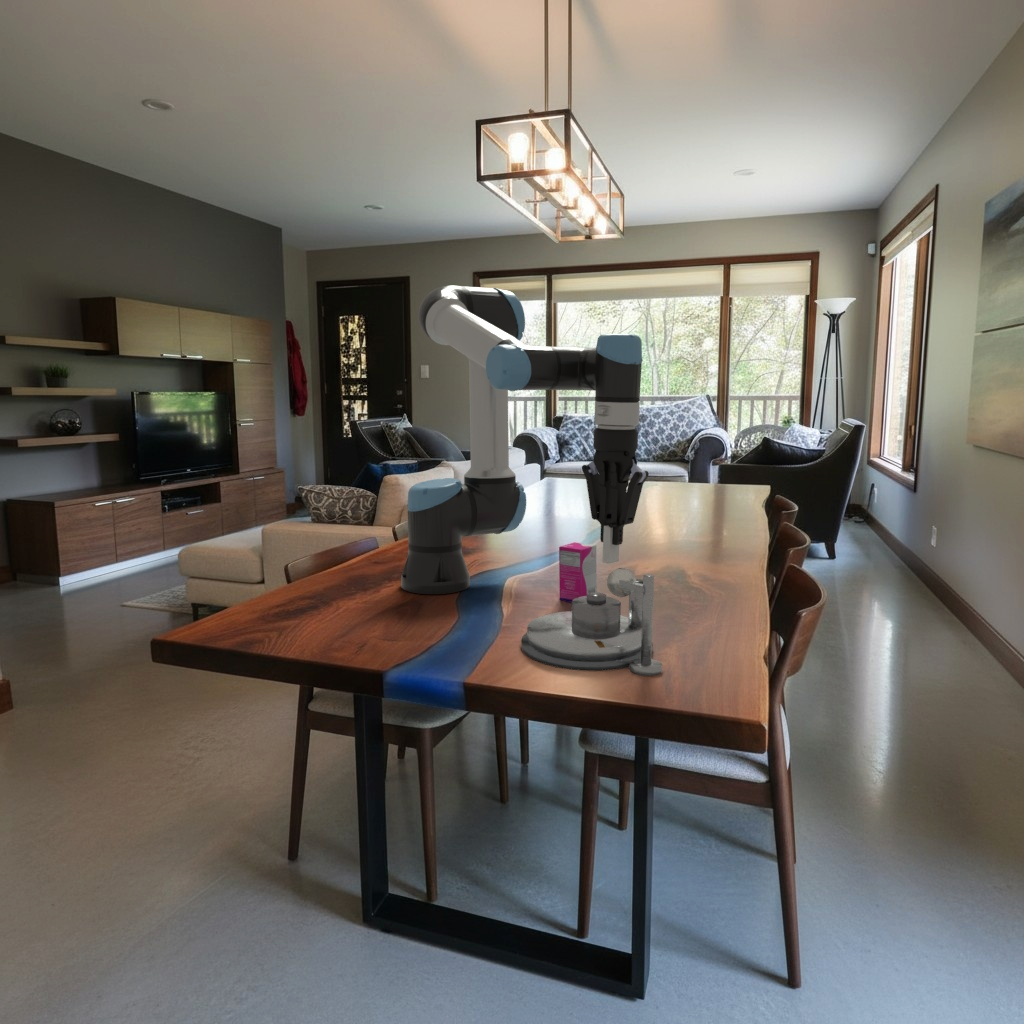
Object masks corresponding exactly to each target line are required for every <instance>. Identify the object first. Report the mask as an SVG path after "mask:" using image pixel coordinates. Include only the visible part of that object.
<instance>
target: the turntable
mask: <svg viewBox="0 0 1024 1024" xmlns="http://www.w3.org/2000/svg"><path fill="white" fill-rule="evenodd" d="M636 583H640V584H643V579H640V578H636ZM642 602H643V593H642V592H638V591H633V592H632V593H630V594H629V595H628V616H624V615H622V614H621V615H620V634H619V635H618V636H616V637H613V638H607V639H589V638H583V637H580V636H577V635H575V634H573V633H572V610H571V611H569V610H568V611H560V612H553V613H548V614H543V615H541V616H538V617H536V618H534V619H532V620H531V621H530V622H528V624H527V626H526V627H527V629H526V630H527V631H526V633H527V641H528V643H529V644H530V645H531V646H532V647H533V648H535V649H536V650H538V651H540V652H543V653H546V654H549V655H552V656H556V657H561V658H567V659H575V660H611V659H618V658H624V657H628V656H631V655H634V654H636V653H638V652H640V651H641V635H642Z"/></svg>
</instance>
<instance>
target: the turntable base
mask: <svg viewBox="0 0 1024 1024" xmlns="http://www.w3.org/2000/svg"><path fill="white" fill-rule="evenodd" d="M520 641H521V643H520V645H521V646H520V647H521V648H520V649H521V651H522V652H523V653H524V655H526V656H527V657H528V658H530V659H531V660H534V661H536V662H538V663H539V664H544V665H545V666H546V665H547V666H551V667H553V668H554V667H555V668H559V669H565V670H571V671H573V670H574V671H584V672H585V671H586V672H588V671H592V672H594V671H595V672H596V671H597V672H599V671H600V672H601V671H613V670H614V671H615V670H621V669H625V668H629V664H630V661H631V660H634V659H638V658H641V651H640V652H638V653H636V654H634V655H631V656H628V657H624V658H618V659H611V660H575V659H567V658H561V657H556V656H552V655H549V654H546V653H543V652H540V651H538V650H536V649H535V648H533V647H532V646H531V645H530V644H529V643H528V641H527V632H525V633H524V634H523V636H522V637H521V640H520ZM653 646H654V643H652V653H651V656H652V654H653V652H654V651H653V649H654V647H653Z"/></svg>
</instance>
